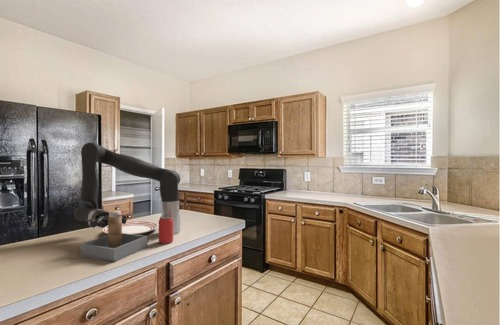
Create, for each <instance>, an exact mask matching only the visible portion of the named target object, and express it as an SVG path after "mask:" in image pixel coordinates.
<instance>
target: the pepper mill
mask: <svg viewBox="0 0 500 325" xmlns="http://www.w3.org/2000/svg"><path fill="white" fill-rule="evenodd" d="M108 212H109V217H108V234H107V235H108V248H116V247H119V246H122V216H121V215H122V212H121V211H120V210H113V211H108Z"/></svg>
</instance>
